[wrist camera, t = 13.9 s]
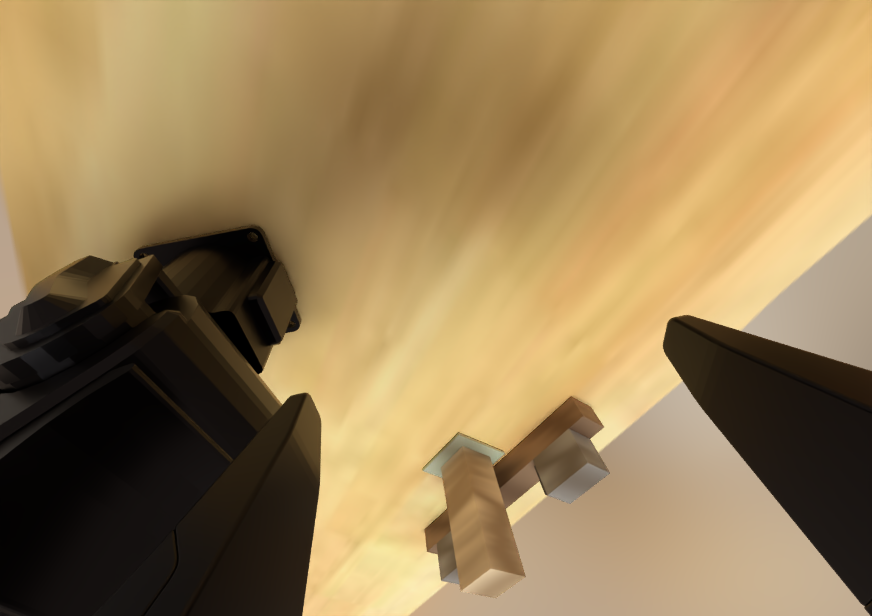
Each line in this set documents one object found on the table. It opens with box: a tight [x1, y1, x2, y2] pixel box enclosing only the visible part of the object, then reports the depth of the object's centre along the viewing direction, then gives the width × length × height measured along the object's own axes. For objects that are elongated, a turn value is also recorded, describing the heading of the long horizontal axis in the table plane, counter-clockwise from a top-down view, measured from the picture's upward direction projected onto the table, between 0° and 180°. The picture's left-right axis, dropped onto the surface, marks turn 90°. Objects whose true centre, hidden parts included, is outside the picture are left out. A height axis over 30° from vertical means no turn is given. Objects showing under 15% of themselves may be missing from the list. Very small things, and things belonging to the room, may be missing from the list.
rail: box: [423, 397, 610, 584], centre depth 30 cm, size 20×8×5 cm, turn 144°
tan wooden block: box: [441, 446, 526, 598], centre depth 27 cm, size 3×3×9 cm
